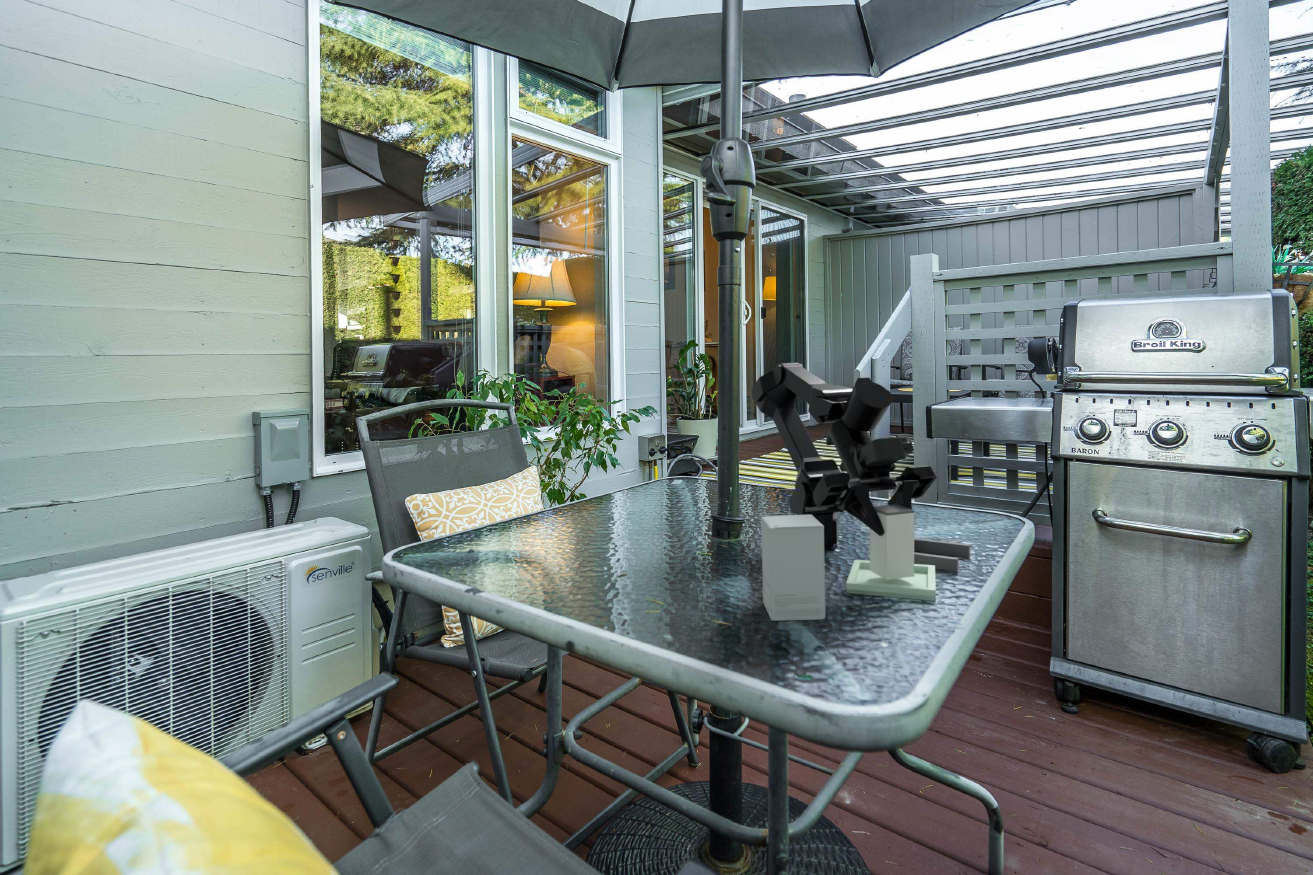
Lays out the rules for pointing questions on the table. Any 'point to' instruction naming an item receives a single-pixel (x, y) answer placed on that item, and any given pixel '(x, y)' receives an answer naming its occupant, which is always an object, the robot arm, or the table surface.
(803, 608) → the supplement box
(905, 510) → the tall cream pillar
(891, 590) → the tray
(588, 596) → the table surface
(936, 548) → the cradle
